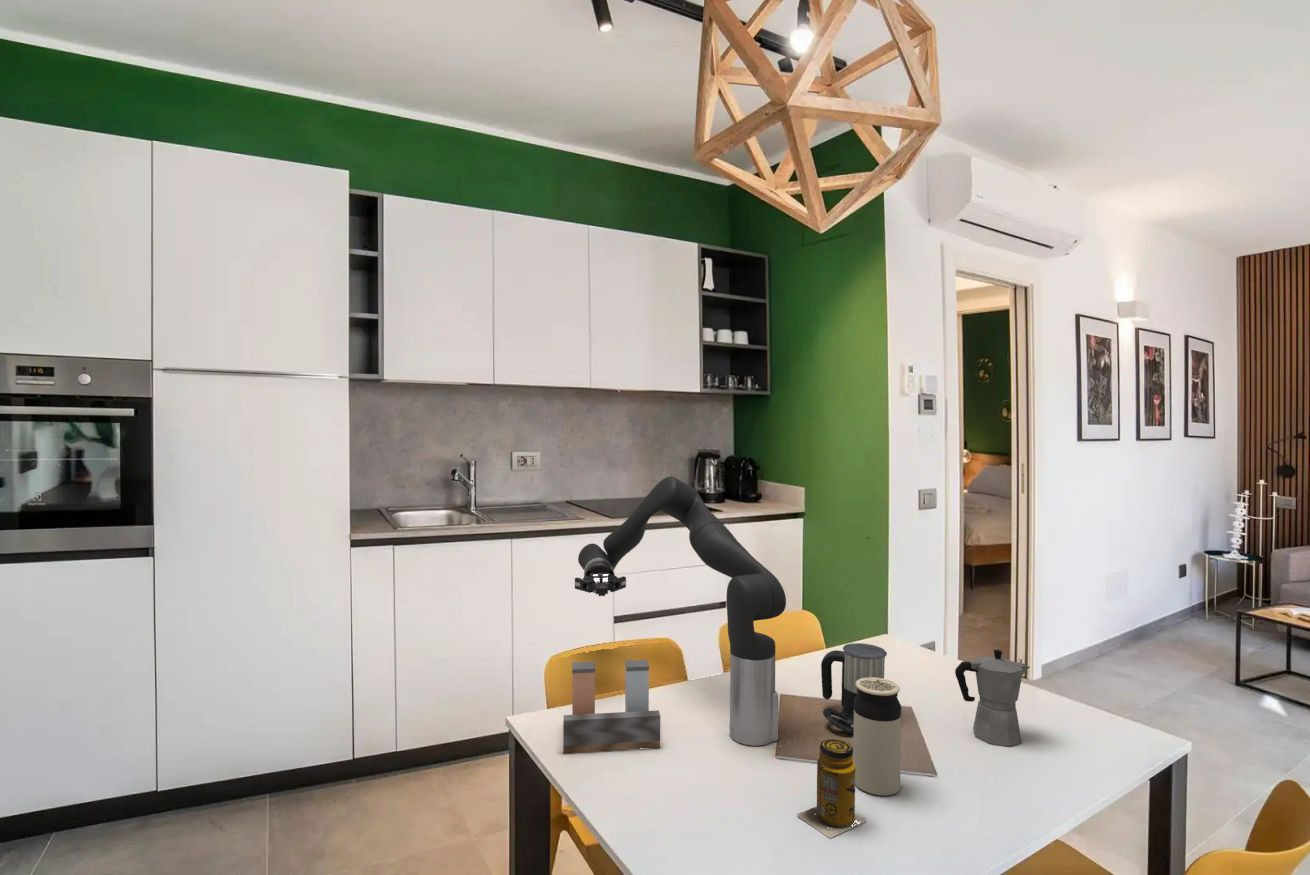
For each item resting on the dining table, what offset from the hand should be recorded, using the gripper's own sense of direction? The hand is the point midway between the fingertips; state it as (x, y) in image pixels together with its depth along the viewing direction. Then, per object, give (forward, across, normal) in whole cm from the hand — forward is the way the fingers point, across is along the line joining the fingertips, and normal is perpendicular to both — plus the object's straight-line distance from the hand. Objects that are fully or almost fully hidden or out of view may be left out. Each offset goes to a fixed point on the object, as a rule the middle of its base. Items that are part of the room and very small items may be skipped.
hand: (602, 591), depth 154 cm
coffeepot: (+25, +79, +26) cm, 87 cm away
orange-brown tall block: (+15, -5, +24) cm, 29 cm away
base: (+15, +1, +26) cm, 30 cm away
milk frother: (+15, +54, +26) cm, 62 cm away
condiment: (+49, +35, +26) cm, 66 cm away
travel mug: (+40, +47, +26) cm, 67 cm away
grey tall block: (+15, +6, +24) cm, 29 cm away
